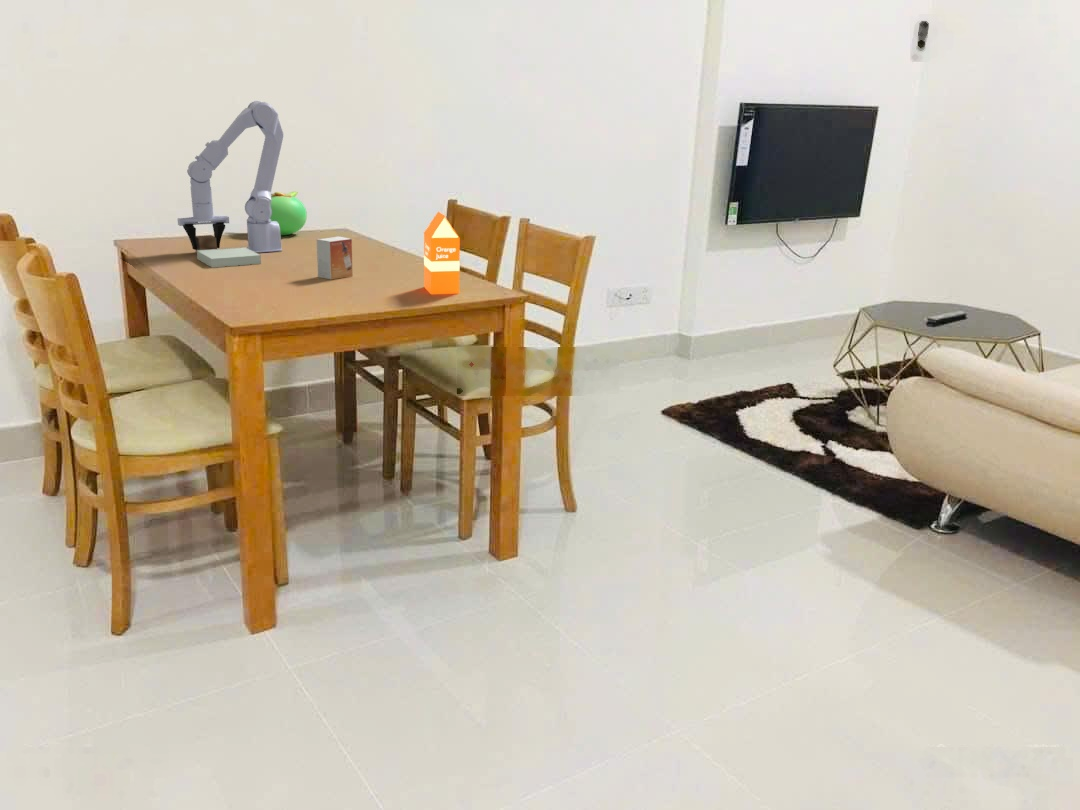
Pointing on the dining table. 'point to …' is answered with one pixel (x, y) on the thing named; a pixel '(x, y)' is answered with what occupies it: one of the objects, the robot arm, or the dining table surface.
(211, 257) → the base
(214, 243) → the walnut cube
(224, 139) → the robot arm
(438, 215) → the orange juice
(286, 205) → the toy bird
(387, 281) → the dining table surface
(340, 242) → the small box
